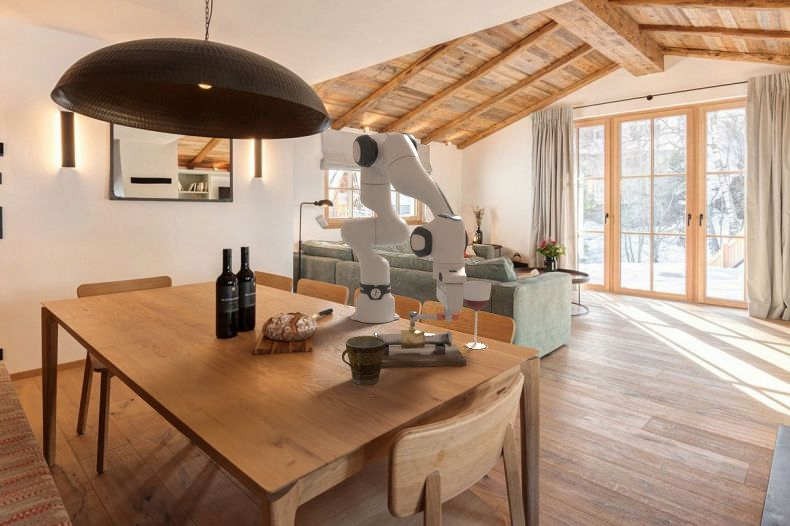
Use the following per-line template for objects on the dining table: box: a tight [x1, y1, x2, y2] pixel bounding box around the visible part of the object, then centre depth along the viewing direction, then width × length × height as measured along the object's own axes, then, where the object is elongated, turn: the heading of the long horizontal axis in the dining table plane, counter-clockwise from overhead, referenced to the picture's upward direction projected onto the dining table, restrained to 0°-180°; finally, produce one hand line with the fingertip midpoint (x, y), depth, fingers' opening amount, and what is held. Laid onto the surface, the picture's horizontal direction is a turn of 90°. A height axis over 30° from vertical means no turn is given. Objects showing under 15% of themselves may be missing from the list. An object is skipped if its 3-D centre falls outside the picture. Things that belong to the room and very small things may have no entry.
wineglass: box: [463, 280, 492, 350], centre depth 141 cm, size 8×9×20 cm
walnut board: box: [381, 344, 467, 368], centre depth 131 cm, size 14×28×2 cm, turn 95°
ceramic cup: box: [341, 335, 386, 386], centre depth 112 cm, size 13×10×10 cm
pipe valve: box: [373, 326, 453, 356], centre depth 130 cm, size 5×22×8 cm, turn 95°
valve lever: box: [407, 310, 460, 327], centre depth 130 cm, size 14×3×4 cm, turn 96°
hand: (447, 321), depth 128 cm, fingers closed
